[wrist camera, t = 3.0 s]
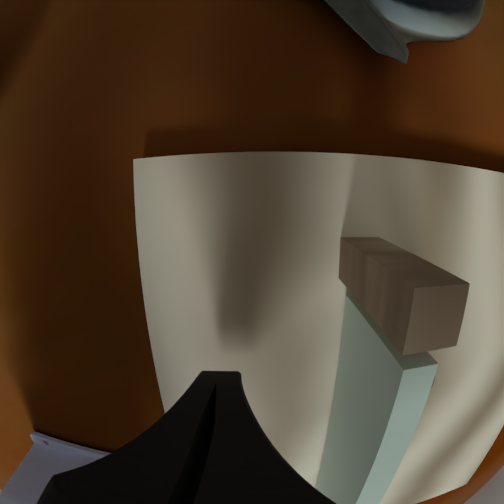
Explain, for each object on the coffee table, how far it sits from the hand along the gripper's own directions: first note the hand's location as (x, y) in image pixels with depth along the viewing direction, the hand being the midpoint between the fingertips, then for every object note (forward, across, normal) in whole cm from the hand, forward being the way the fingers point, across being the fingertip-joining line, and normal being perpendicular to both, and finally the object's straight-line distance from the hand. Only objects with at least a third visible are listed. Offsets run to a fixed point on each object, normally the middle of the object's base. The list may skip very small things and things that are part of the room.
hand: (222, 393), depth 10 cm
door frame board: (+3, -8, +4) cm, 9 cm away
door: (+2, -6, +5) cm, 8 cm away
